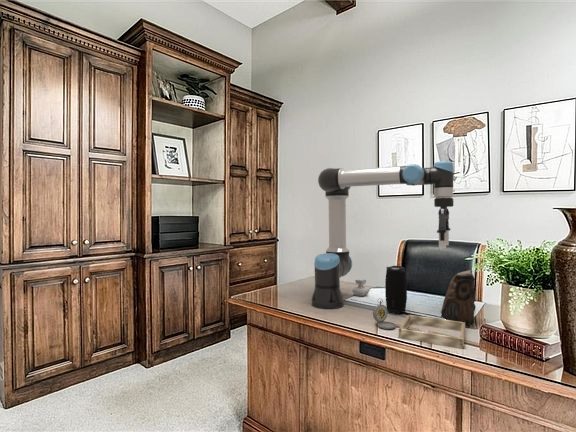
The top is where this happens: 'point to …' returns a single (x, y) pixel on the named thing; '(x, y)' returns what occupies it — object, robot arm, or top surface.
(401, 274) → the portable speaker
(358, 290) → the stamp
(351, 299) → the top surface
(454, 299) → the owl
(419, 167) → the robot arm
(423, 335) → the box
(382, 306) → the pocket watch
